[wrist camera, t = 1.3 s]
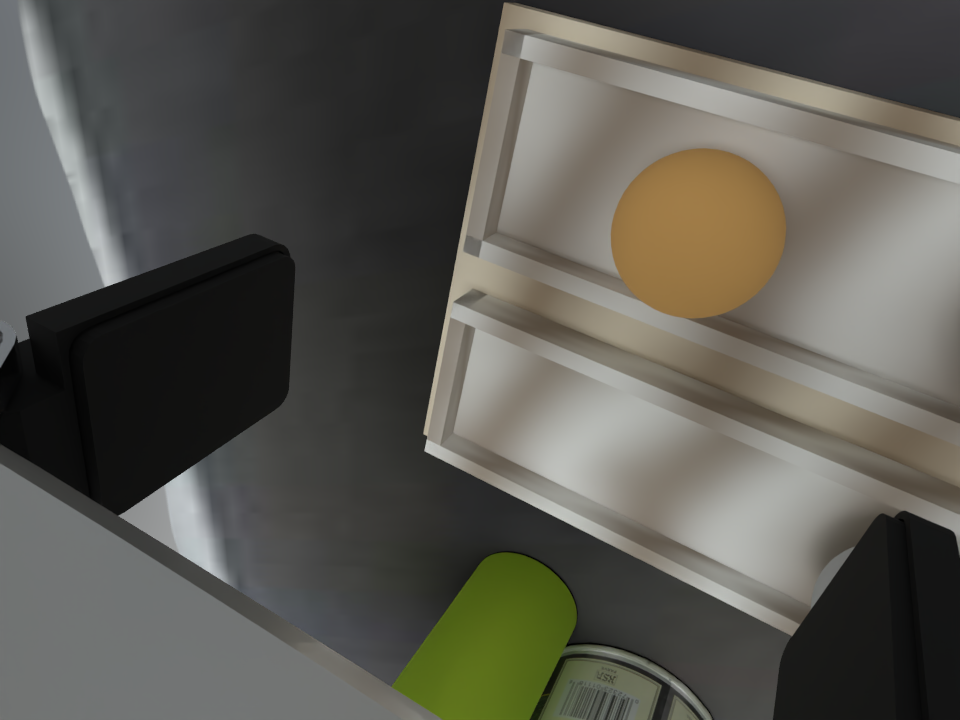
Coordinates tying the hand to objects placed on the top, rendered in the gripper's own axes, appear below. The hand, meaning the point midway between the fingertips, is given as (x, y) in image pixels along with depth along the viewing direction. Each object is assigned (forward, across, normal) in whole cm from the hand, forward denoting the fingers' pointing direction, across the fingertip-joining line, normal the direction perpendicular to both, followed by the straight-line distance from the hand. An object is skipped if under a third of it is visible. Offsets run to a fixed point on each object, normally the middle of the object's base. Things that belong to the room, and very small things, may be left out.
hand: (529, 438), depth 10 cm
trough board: (+17, -3, +5) cm, 18 cm away
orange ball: (+15, 0, 0) cm, 15 cm away
